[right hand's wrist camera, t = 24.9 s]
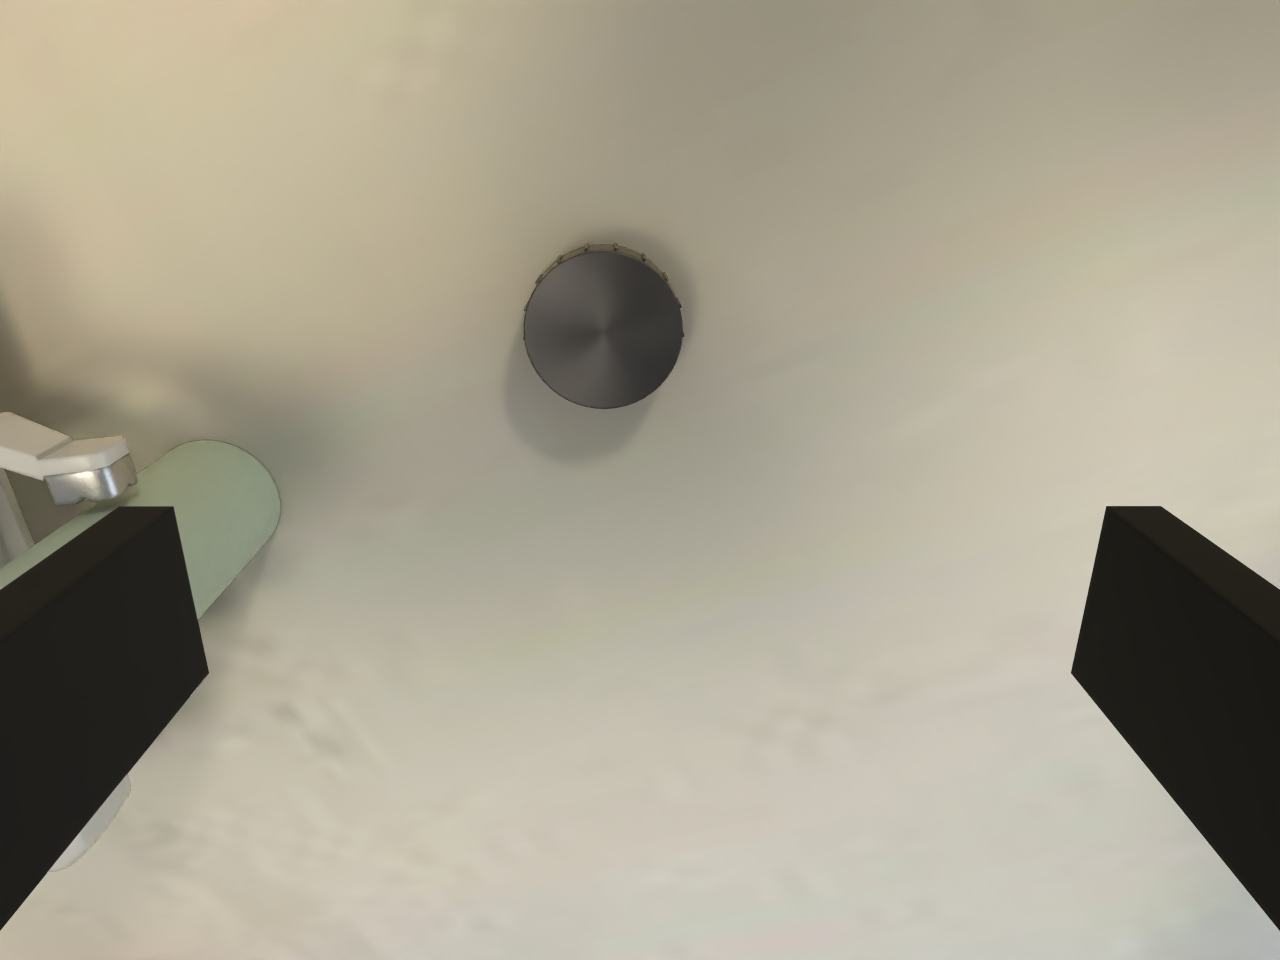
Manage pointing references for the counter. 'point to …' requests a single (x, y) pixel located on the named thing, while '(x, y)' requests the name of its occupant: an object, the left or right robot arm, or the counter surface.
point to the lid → (603, 326)
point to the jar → (190, 514)
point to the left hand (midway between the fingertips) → (159, 571)
